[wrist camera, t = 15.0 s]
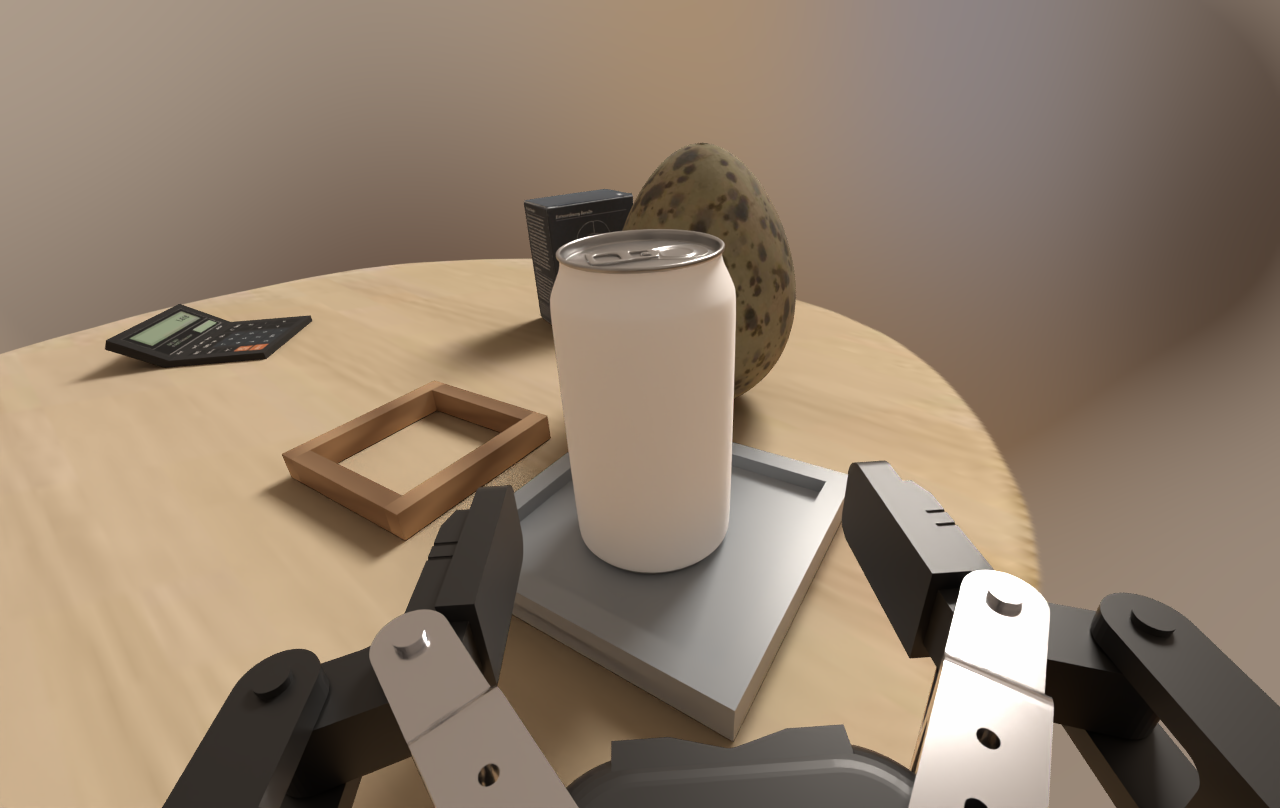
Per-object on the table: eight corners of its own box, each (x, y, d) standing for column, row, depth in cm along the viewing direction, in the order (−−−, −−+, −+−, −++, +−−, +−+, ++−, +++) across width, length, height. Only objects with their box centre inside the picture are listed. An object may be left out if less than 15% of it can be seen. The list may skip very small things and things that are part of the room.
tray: (733, 741, 17) (735, 710, 16) (447, 577, 23) (439, 549, 22) (850, 502, 26) (854, 476, 25) (623, 433, 32) (622, 411, 32)
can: (753, 561, 22) (772, 257, 16) (591, 596, 21) (551, 282, 15) (700, 470, 27) (701, 220, 22) (571, 494, 26) (536, 236, 21)
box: (613, 300, 55) (604, 187, 50) (641, 316, 50) (635, 193, 45) (538, 317, 52) (521, 198, 46) (562, 335, 47) (545, 205, 42)
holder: (405, 540, 25) (396, 514, 24) (291, 477, 30) (281, 454, 29) (550, 438, 32) (547, 415, 32) (439, 400, 37) (434, 380, 37)
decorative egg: (627, 363, 41) (612, 142, 34) (774, 361, 40) (790, 132, 33) (609, 441, 32) (584, 157, 25) (800, 440, 31) (831, 145, 24)
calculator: (267, 362, 46) (253, 328, 45) (119, 375, 45) (100, 340, 44) (313, 323, 54) (303, 294, 53) (188, 334, 53) (174, 304, 52)
